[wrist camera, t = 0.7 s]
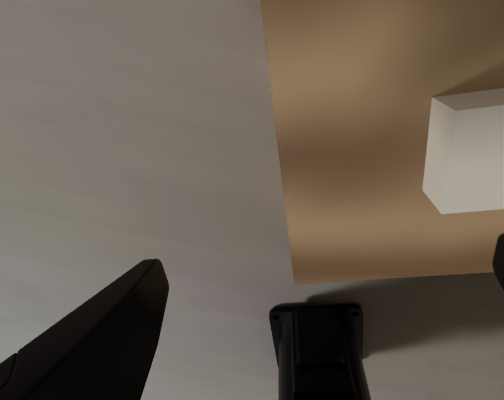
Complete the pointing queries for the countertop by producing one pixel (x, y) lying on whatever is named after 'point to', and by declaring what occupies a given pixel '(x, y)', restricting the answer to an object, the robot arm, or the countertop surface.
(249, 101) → the countertop surface
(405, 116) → the wooden block
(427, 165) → the tile
